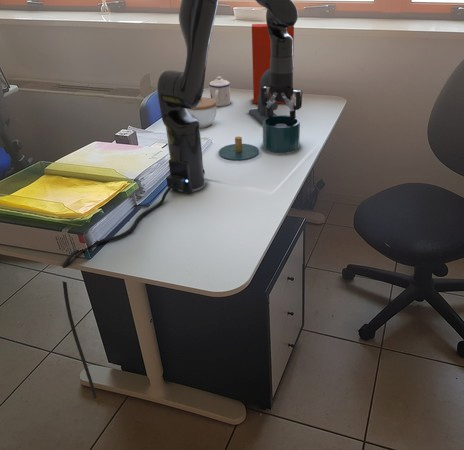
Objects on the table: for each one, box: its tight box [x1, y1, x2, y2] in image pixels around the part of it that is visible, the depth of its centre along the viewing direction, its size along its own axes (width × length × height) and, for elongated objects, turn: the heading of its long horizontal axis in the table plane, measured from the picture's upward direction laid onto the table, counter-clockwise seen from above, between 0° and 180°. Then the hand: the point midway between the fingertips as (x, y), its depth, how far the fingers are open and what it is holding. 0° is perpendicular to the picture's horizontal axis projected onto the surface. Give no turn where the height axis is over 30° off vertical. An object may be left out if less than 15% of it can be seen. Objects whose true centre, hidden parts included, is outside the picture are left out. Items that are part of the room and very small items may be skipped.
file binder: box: [251, 23, 295, 105], centre depth 201 cm, size 8×17×32 cm, turn 90°
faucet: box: [248, 69, 279, 126], centre depth 186 cm, size 18×16×20 cm
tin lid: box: [218, 136, 260, 162], centre depth 157 cm, size 14×14×6 cm
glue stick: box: [275, 124, 287, 127], centre depth 161 cm, size 4×4×8 cm
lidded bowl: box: [186, 96, 217, 129], centre depth 181 cm, size 13×13×11 cm
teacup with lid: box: [208, 76, 231, 107], centre depth 203 cm, size 12×9×12 cm
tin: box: [262, 114, 301, 154], centre depth 161 cm, size 13×13×10 cm
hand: (281, 119), depth 158 cm, fingers open, 7 cm apart
